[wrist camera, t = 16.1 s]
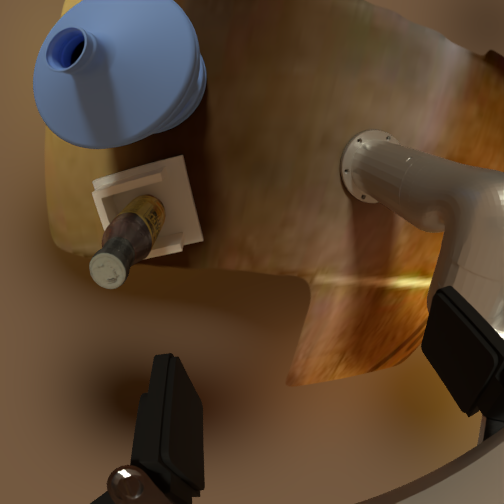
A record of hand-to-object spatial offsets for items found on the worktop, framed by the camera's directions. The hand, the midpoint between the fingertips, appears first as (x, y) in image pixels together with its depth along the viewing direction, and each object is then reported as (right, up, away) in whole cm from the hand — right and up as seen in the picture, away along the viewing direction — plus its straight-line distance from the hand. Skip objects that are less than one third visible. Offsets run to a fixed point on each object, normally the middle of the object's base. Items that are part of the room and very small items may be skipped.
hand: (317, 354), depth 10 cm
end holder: (-19, +10, +36) cm, 42 cm away
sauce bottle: (-18, +10, +35) cm, 41 cm away
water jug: (-17, +28, +27) cm, 43 cm away
